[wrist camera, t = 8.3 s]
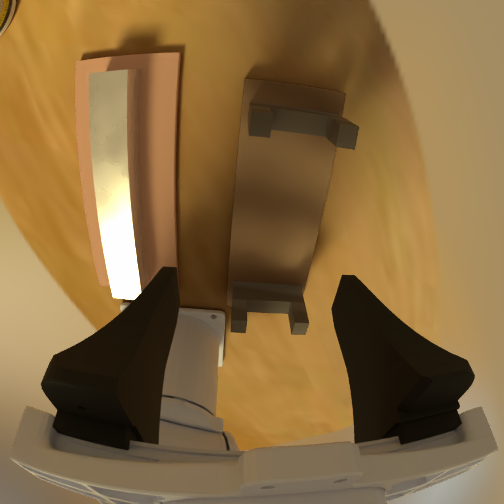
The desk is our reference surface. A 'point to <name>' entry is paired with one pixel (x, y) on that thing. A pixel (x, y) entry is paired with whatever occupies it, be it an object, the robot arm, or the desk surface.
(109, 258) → the steel rail
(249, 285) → the hook stand
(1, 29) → the supplement bottle
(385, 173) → the desk surface
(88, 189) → the mat
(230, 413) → the desk surface
